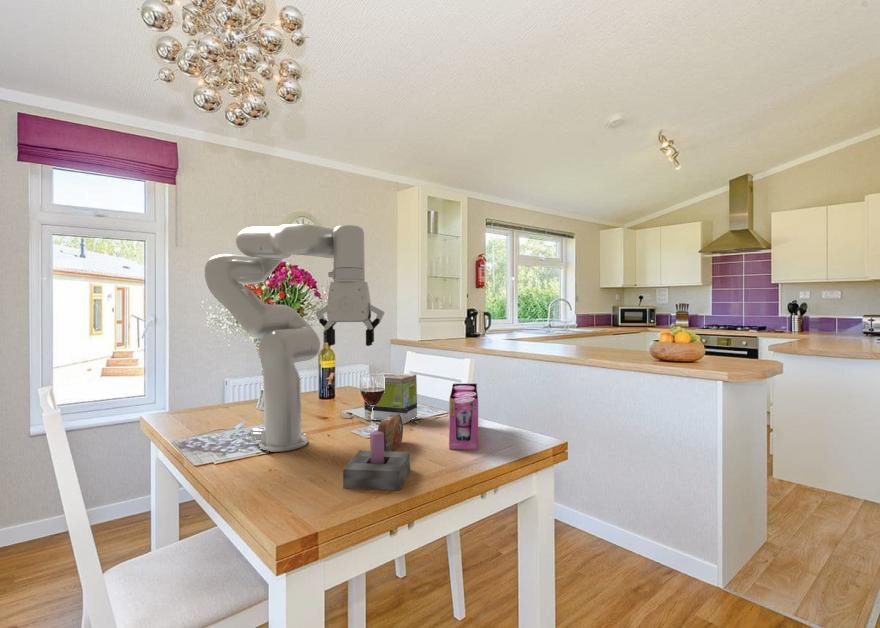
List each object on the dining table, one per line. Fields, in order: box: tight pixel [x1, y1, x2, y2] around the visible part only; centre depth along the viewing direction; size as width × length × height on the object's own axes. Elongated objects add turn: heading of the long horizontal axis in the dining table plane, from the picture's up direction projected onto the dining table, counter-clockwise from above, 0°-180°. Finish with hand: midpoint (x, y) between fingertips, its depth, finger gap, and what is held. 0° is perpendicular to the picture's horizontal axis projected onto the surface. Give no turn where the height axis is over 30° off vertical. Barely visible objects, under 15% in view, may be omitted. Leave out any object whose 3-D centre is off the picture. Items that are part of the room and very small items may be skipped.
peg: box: [369, 431, 384, 464], centre depth 101 cm, size 3×3×10 cm
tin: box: [376, 414, 404, 452], centre depth 121 cm, size 15×3×8 cm, turn 168°
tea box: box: [363, 372, 418, 425], centre depth 152 cm, size 15×10×15 cm, turn 66°
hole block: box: [342, 449, 411, 491], centre depth 101 cm, size 12×12×4 cm
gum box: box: [448, 383, 479, 451], centre depth 130 cm, size 24×8×14 cm, turn 176°
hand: (350, 345), depth 114 cm, fingers open, 9 cm apart
